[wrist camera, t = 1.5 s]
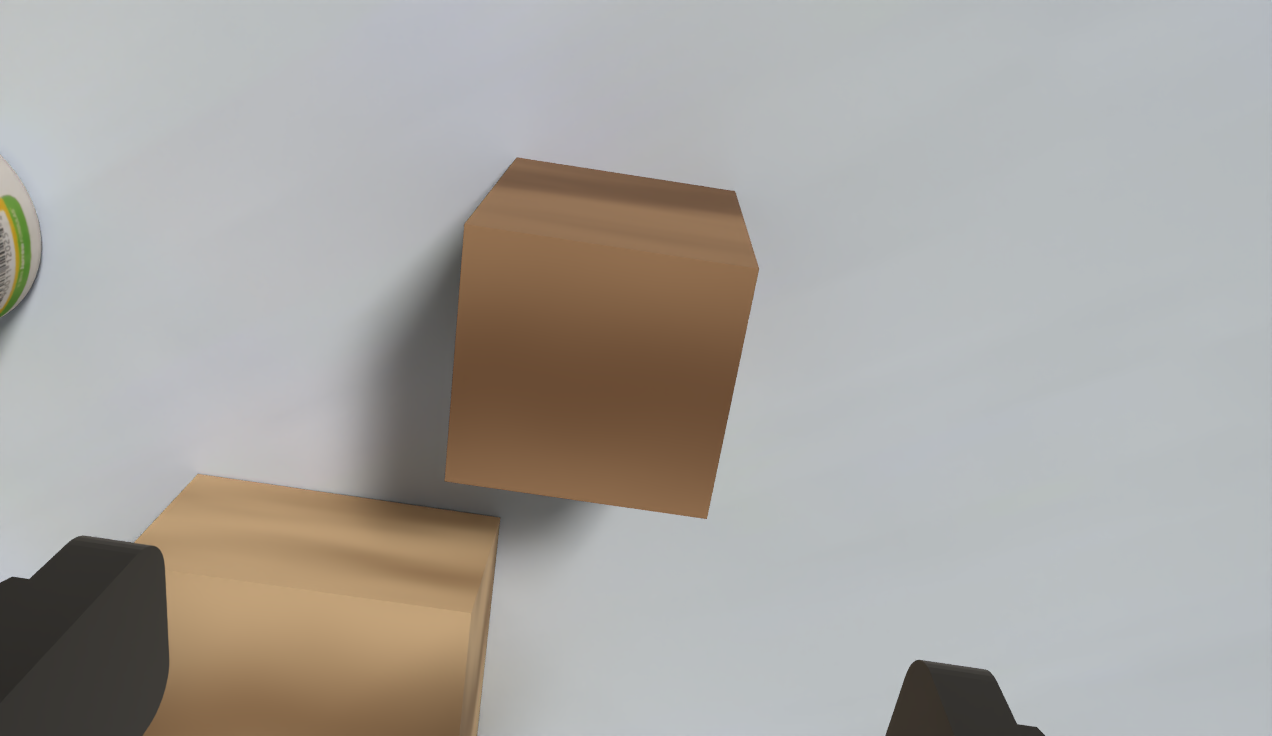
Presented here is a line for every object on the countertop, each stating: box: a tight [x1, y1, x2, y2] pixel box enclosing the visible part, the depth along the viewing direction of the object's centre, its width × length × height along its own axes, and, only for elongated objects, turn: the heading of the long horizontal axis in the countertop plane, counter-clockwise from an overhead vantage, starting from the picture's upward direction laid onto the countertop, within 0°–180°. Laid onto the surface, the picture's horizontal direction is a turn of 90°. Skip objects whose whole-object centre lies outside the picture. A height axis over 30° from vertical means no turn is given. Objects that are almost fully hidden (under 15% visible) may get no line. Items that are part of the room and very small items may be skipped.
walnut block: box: [445, 158, 759, 519], centre depth 19 cm, size 5×5×6 cm
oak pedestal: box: [134, 474, 500, 736], centre depth 24 cm, size 8×8×4 cm
